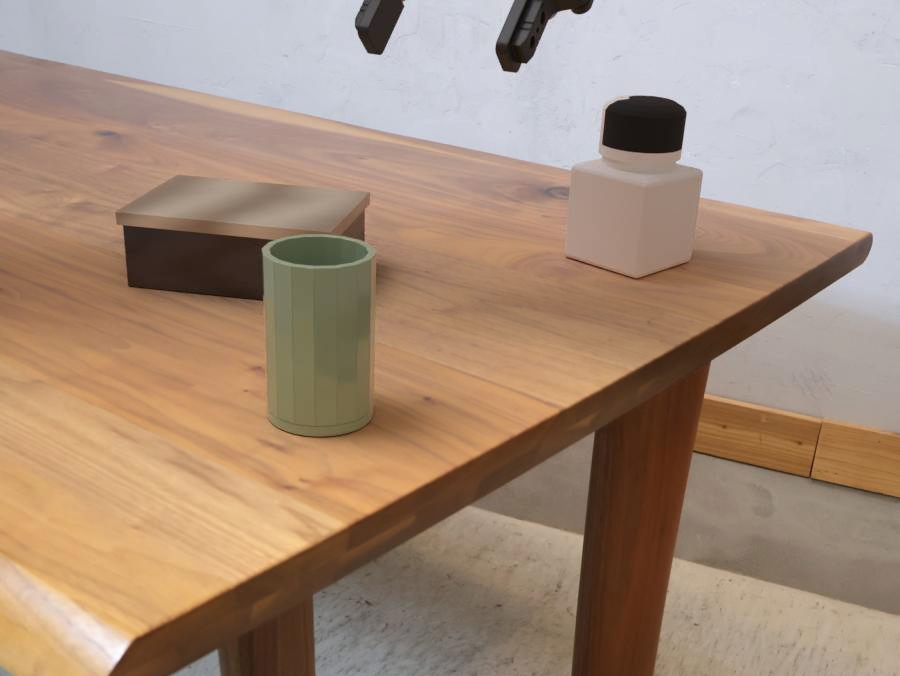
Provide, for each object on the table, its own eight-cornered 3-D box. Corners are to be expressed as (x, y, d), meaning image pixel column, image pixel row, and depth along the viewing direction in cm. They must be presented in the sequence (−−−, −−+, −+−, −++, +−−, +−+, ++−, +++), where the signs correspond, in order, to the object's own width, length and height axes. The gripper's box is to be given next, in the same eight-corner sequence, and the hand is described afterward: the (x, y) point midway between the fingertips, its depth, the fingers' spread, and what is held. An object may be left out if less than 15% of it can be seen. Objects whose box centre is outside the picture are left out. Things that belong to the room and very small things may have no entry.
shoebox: (121, 287, 78) (114, 211, 75) (181, 243, 87) (177, 174, 85) (331, 309, 76) (331, 232, 73) (369, 261, 85) (370, 191, 83)
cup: (252, 429, 59) (246, 261, 55) (285, 387, 64) (281, 229, 60) (358, 442, 58) (360, 272, 54) (383, 398, 63) (386, 239, 59)
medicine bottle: (692, 262, 88) (715, 102, 83) (636, 280, 84) (657, 112, 78) (618, 240, 93) (635, 86, 87) (561, 256, 88) (576, 95, 83)
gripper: (408, -233, 66) (297, -7, 62) (644, -231, 60) (538, 18, 56) (448, -129, 73) (350, 82, 69) (663, -118, 67) (570, 113, 63)
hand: (435, 53), depth 63 cm, fingers open, 8 cm apart
